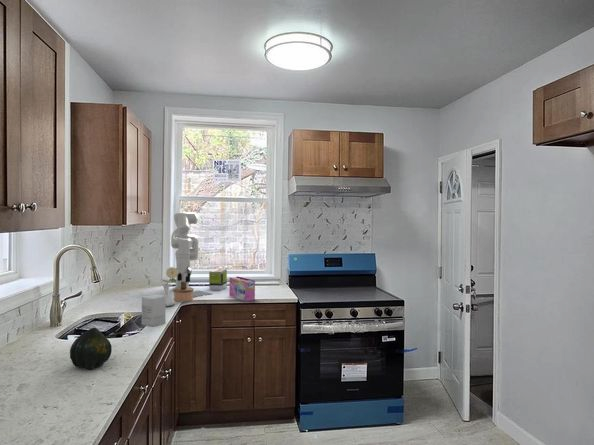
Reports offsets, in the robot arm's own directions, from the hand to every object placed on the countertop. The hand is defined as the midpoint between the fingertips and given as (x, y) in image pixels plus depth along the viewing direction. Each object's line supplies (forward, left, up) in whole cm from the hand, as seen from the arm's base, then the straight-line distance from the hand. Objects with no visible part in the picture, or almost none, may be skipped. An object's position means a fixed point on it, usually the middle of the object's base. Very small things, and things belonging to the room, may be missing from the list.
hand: (183, 281), depth 282 cm
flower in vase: (+8, -18, -13) cm, 23 cm away
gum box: (+24, +32, -13) cm, 42 cm away
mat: (-9, +17, -13) cm, 23 cm away
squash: (+78, -95, -13) cm, 123 cm away
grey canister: (+41, -46, -13) cm, 63 cm away
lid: (0, 0, -7) cm, 7 cm away
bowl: (0, 0, -13) cm, 13 cm away
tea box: (-16, +43, -13) cm, 48 cm away
